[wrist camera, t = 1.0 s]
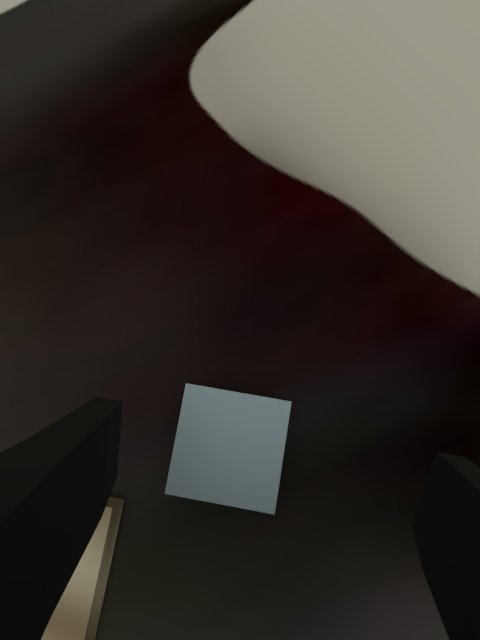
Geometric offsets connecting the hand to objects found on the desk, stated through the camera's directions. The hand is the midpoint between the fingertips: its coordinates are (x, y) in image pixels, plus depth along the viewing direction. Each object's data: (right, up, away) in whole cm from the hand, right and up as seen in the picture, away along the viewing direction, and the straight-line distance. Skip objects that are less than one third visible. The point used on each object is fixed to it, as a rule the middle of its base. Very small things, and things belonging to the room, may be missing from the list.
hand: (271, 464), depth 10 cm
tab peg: (-1, -3, +13) cm, 14 cm away
